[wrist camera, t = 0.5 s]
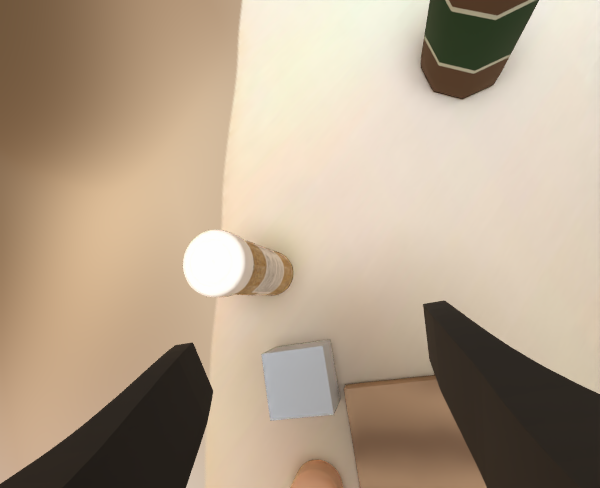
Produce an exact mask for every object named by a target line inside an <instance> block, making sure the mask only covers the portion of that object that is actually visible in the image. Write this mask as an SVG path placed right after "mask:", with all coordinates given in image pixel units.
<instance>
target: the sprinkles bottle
mask: <svg viewBox="0 0 600 488" xmlns="http://www.w3.org/2000/svg"><path fill="white" fill-rule="evenodd" d="M183 270H184V274H185V277H186V280H187V282H188V283H189V285H190V286H191V287H192V288H193V289H194V290H195V291H196V292H198V293H200V294H202V295H204V296H208V297H228V296H231V295H235V294H237V295H239V294H240V295H271V296H272V295H277V294H279V293H282V292H283V291H285V290H286V289H287V288H288V286H289V285H290V283H291V280H292V278H293V269H292V265H291V263H290V261H289V260H288V258H287V257H286V256H284V255H283V254H281V253H279V252H275V251H272V250H270V249H267V248H265V247H262V246H259V245H257V244H254V243H252V242H248V241H244V240H243V239H242V238H241V237H239V236H237V235H235V234H233V233H230V232H227V231H223V230H210V231H206V232H204V233H201V234H200V235H198V236H197V237H196V238H194V239H193V240H192V242H191V243H190V244H189V246H188V248H187V250H186V252H185V255H184V260H183Z"/></svg>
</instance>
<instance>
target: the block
mask: <svg viewBox="0 0 600 488" xmlns="http://www.w3.org/2000/svg"><path fill="white" fill-rule="evenodd" d="M262 362H263V370H264V377H265V385H266V392H267V400H268V407H269V415H270V421H271V420H282V419H293V418H303V417H314V416H325V415H334V413H335V411H336V408H337V406H338V403H339V401H340V395H339V389H338V383H337V377H336V371H335V365H334V359H333V353H332V347H331V341H330V340H322V341H315V342H308V343H301V344H293V345H286V346H279V347H275V348H273V349H271V350H269V351H267V352H265V353H263V354H262Z"/></svg>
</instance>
